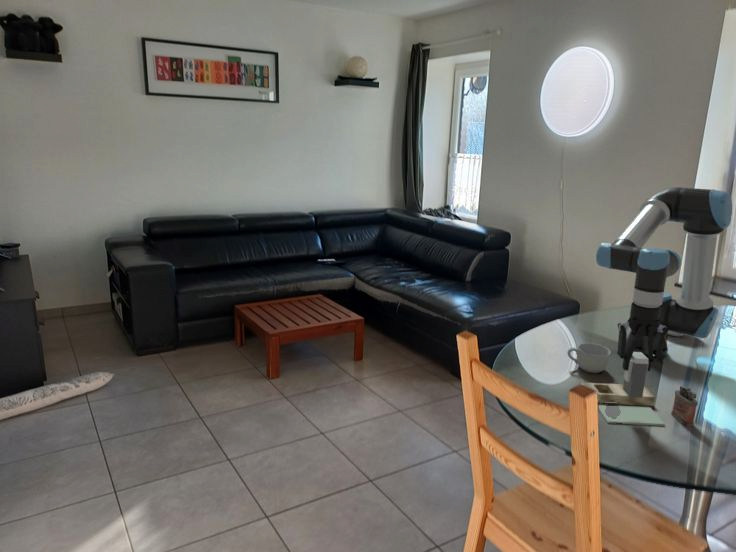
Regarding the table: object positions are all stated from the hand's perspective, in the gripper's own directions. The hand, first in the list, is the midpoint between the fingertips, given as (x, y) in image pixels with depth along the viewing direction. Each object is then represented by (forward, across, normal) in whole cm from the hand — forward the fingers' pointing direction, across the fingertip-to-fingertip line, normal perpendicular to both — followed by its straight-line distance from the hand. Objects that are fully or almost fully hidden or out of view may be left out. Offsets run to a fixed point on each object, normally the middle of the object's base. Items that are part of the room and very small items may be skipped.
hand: (634, 380), depth 159 cm
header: (+11, 0, -11) cm, 16 cm away
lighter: (+12, -15, +1) cm, 19 cm away
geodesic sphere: (+11, -46, -72) cm, 86 cm away
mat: (+11, 0, 0) cm, 12 cm away
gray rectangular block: (+4, 0, 0) cm, 4 cm away
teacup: (+12, +2, -33) cm, 35 cm away
